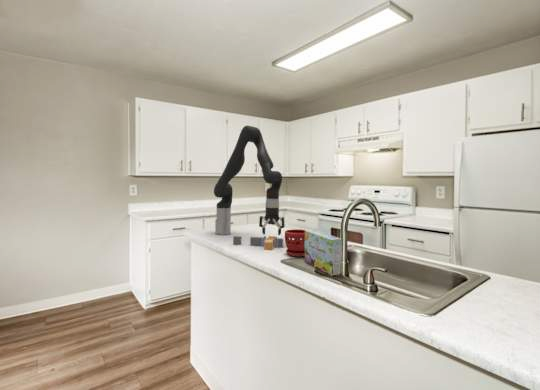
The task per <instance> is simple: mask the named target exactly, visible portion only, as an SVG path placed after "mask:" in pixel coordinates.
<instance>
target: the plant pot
mask: <svg viewBox="0 0 540 390" xmlns="http://www.w3.org/2000/svg"><path fill="white" fill-rule="evenodd" d="M305 230H306V229H299V228H298V229H294V228H293V229H287V230H285V231H284V242H285V243H284V244H285V247H286V250H285V253H286V254H287V255H290V256H291V257H292V256H293V257H302V256H303V257H305Z"/></svg>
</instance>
